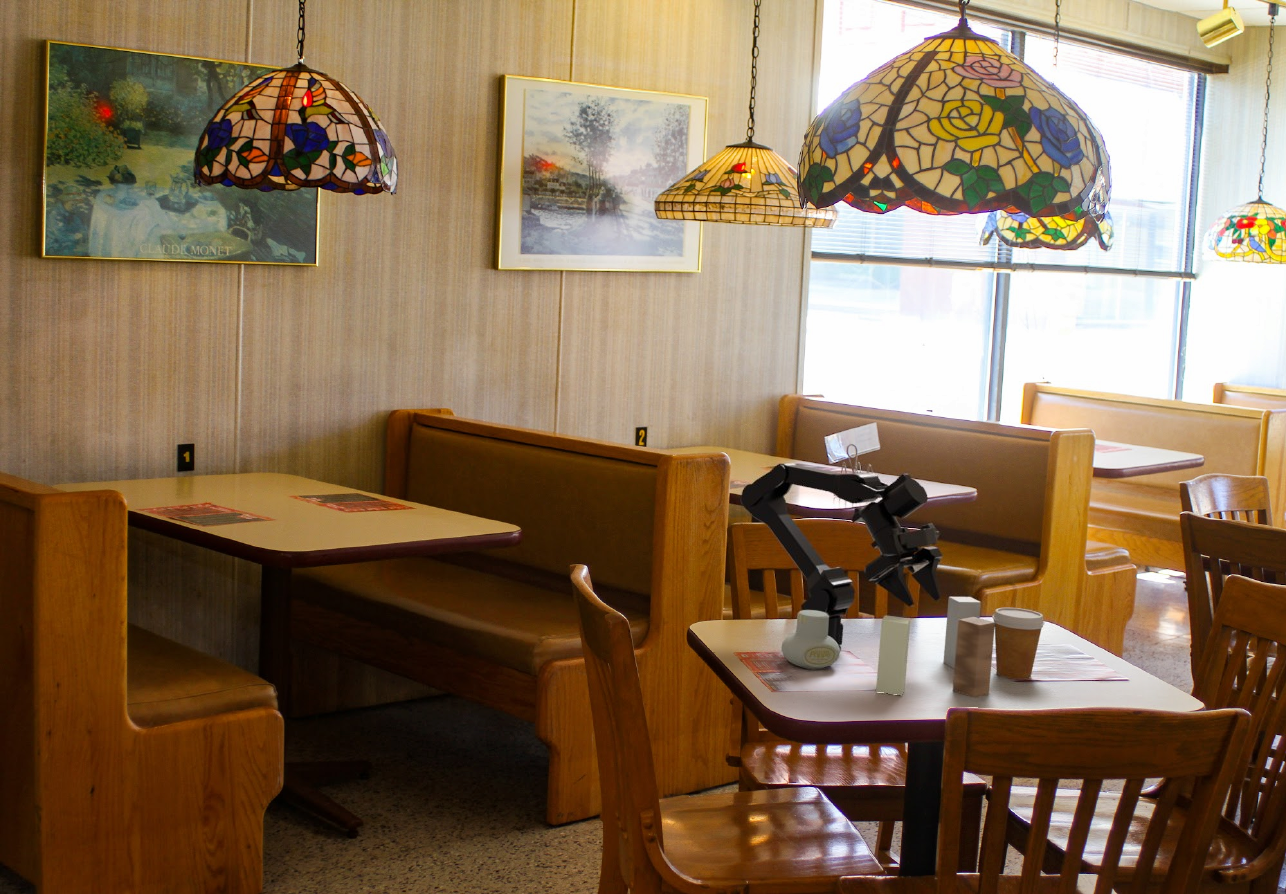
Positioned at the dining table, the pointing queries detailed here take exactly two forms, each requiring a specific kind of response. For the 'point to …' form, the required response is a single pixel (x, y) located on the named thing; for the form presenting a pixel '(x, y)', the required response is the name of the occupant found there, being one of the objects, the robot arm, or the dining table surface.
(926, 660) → the dining table surface
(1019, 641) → the disposable coffee cup
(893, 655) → the sage post
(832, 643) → the air freshener
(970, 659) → the walnut post
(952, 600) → the grey post
